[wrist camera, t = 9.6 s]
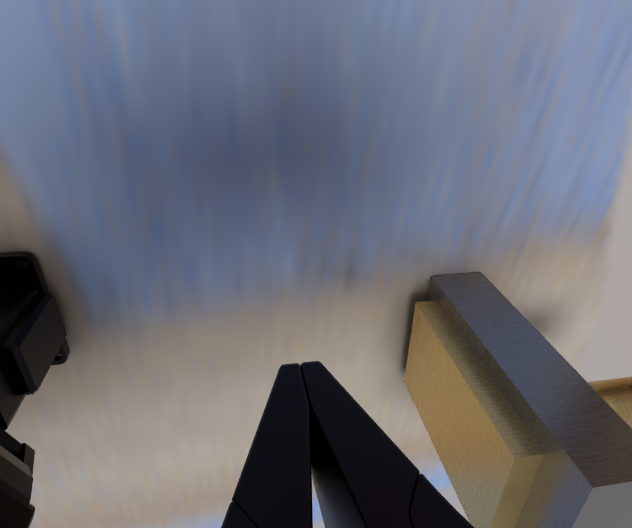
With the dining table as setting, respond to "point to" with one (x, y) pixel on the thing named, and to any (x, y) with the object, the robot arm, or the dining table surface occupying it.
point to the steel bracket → (546, 410)
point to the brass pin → (479, 420)
